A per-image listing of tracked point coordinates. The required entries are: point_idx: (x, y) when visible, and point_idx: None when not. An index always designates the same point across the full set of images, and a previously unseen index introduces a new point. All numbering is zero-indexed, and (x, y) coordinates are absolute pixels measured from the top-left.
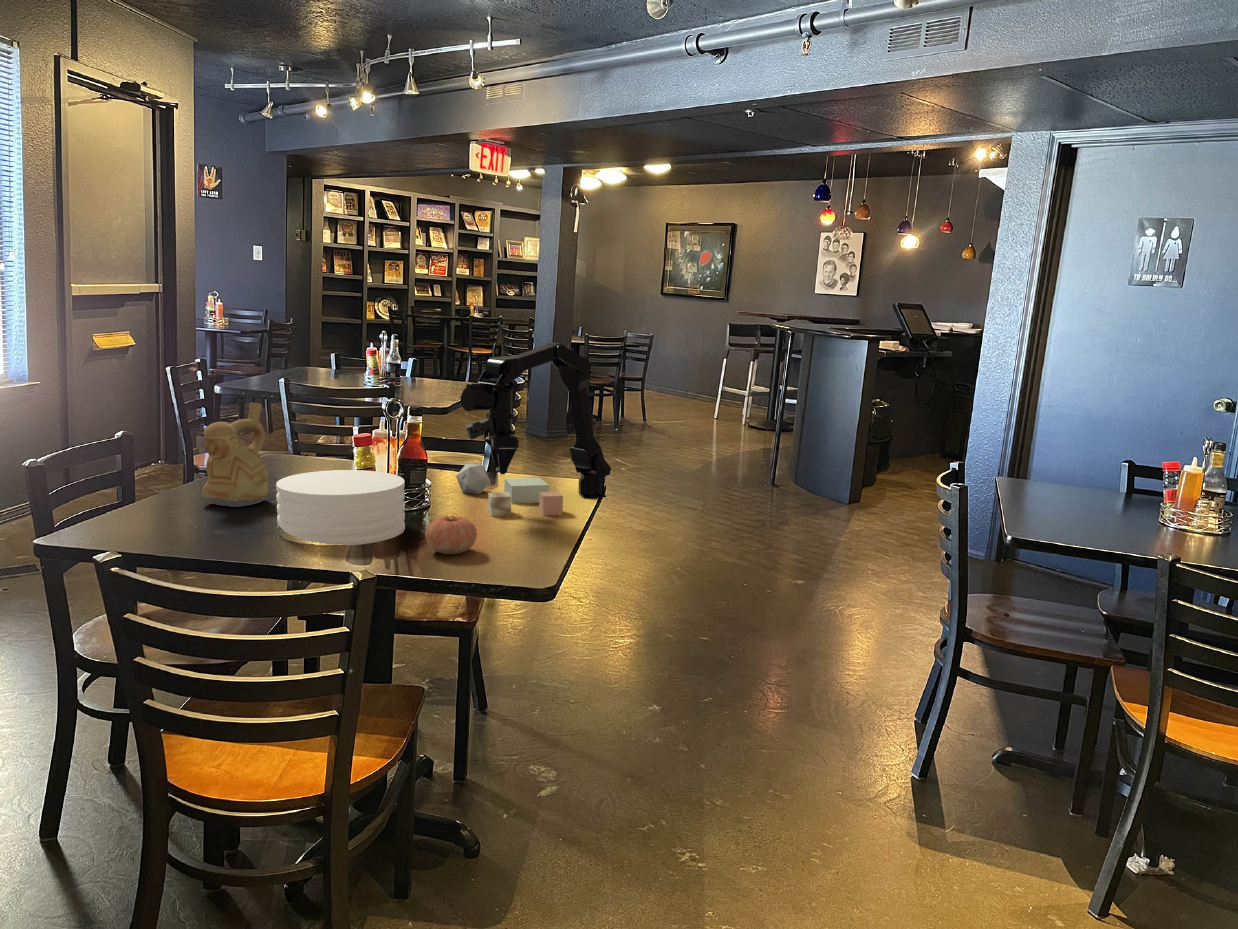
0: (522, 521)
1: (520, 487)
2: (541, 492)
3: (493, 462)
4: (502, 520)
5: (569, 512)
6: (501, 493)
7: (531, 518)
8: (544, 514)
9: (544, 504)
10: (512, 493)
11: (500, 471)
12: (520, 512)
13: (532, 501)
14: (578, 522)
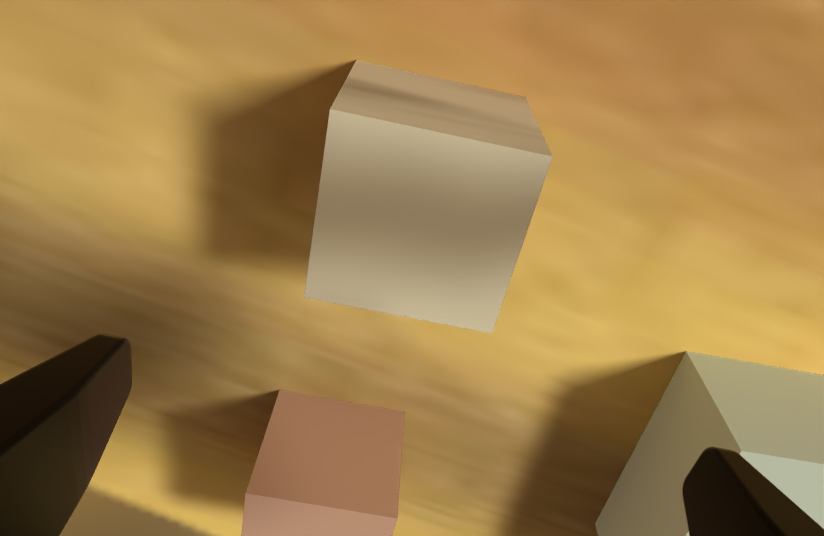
0: (140, 221)
1: None
2: (386, 526)
3: (791, 503)
4: (195, 96)
5: None
6: (466, 267)
7: (216, 304)
8: (278, 400)
9: (261, 450)
10: (712, 407)
11: (59, 356)
12: None
13: (633, 463)
14: None
